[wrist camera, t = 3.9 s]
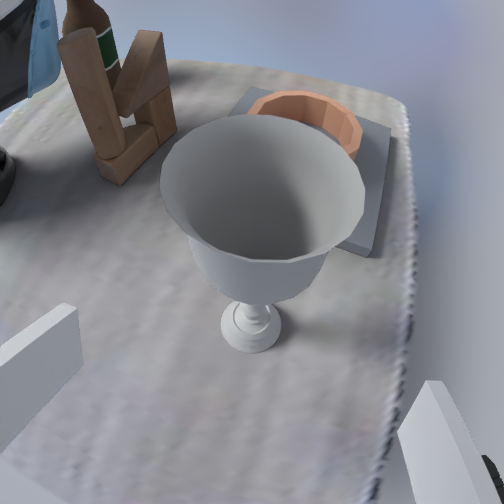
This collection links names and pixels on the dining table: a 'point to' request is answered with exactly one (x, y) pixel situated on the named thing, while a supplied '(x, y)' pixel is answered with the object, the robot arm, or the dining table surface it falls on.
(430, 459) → the robot arm
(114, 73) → the beer bottle
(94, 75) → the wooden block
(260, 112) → the ceramic collar
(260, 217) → the chalice
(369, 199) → the slate board
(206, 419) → the dining table surface
